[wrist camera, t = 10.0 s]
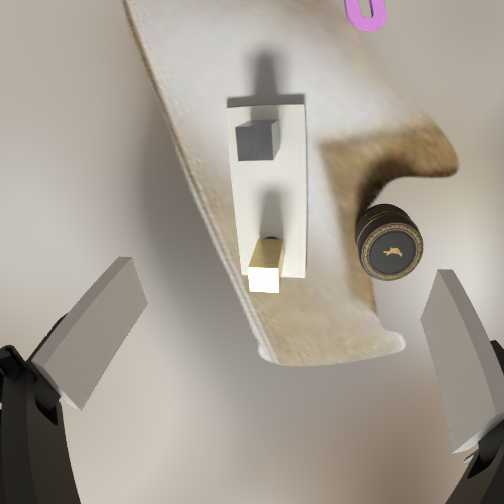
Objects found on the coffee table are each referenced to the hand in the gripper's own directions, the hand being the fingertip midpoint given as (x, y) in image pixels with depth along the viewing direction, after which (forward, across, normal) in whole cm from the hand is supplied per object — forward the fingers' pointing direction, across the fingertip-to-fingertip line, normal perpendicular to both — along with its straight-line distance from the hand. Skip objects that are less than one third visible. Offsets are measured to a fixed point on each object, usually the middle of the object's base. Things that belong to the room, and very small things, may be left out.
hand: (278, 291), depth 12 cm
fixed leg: (+31, -5, +2) cm, 31 cm away
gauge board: (+32, -5, -8) cm, 34 cm away
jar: (+33, +13, -13) cm, 38 cm away
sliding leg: (+31, -5, -16) cm, 35 cm away
